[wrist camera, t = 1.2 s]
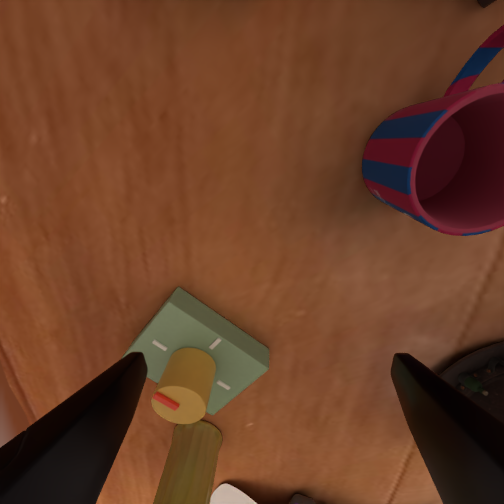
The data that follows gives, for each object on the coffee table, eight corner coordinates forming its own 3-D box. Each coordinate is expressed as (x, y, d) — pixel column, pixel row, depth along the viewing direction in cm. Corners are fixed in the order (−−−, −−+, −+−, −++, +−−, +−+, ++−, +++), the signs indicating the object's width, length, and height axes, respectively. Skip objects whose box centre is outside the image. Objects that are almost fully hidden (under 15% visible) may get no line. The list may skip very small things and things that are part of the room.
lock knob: (225, 364, 24) (216, 409, 20) (198, 389, 25) (185, 435, 21) (185, 339, 23) (168, 380, 19) (160, 366, 24) (139, 409, 20)
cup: (343, 184, 19) (379, 205, 13) (432, 25, 15) (545, -58, 9) (421, 219, 20) (491, 255, 13) (525, 75, 16) (692, 30, 10)
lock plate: (269, 348, 26) (269, 370, 23) (217, 394, 29) (212, 417, 26) (178, 285, 24) (167, 302, 21) (132, 342, 27) (118, 362, 24)
